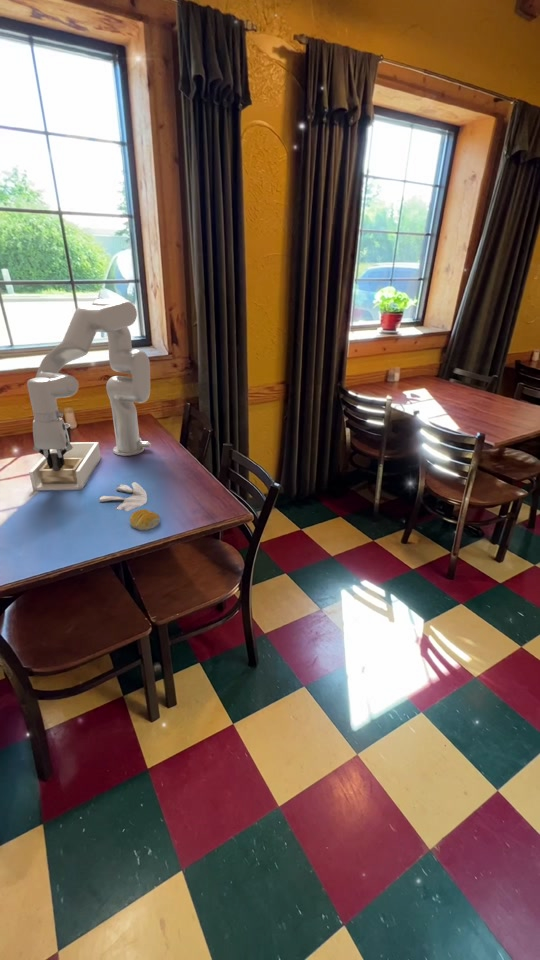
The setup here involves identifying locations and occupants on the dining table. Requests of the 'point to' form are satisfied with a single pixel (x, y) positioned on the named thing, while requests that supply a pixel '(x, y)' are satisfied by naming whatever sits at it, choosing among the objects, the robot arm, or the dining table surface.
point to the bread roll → (144, 519)
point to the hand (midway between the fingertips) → (56, 466)
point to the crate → (60, 470)
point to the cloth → (129, 503)
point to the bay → (83, 472)
